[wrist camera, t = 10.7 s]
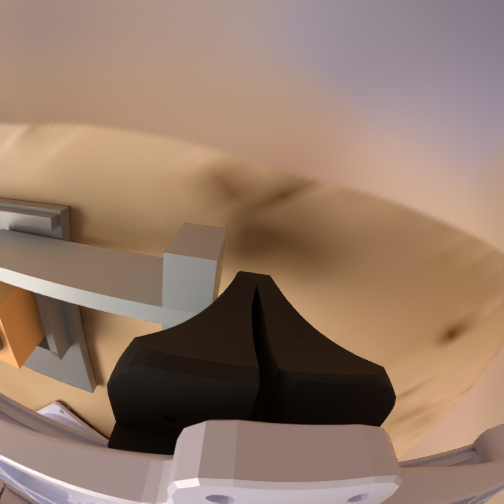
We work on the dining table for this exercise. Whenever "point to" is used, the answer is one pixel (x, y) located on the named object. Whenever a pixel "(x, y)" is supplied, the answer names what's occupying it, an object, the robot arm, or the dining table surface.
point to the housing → (53, 300)
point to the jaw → (18, 324)
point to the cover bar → (120, 273)
